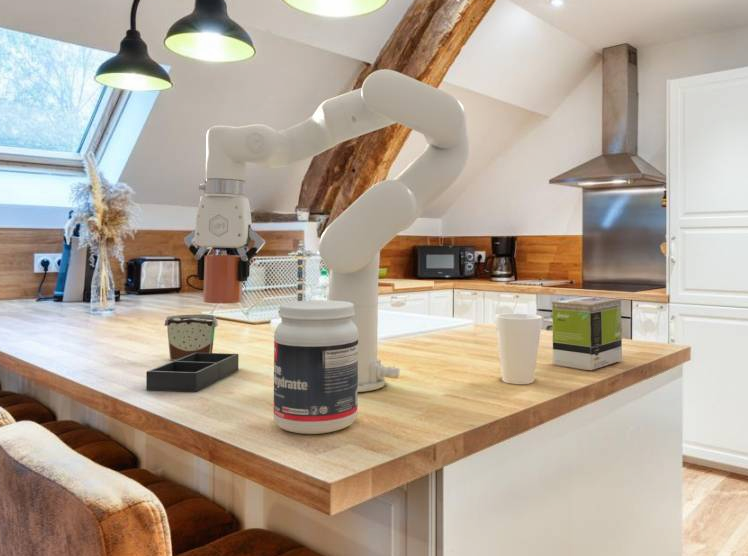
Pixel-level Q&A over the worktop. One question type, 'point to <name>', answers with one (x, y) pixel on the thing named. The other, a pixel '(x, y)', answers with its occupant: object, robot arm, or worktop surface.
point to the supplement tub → (315, 367)
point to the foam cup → (518, 346)
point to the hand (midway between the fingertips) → (223, 279)
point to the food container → (190, 334)
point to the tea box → (587, 332)
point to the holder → (191, 372)
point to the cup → (222, 279)
